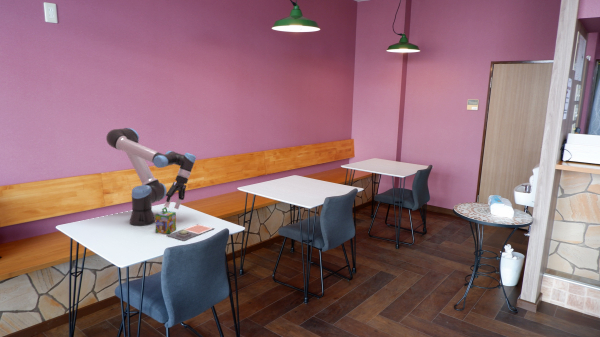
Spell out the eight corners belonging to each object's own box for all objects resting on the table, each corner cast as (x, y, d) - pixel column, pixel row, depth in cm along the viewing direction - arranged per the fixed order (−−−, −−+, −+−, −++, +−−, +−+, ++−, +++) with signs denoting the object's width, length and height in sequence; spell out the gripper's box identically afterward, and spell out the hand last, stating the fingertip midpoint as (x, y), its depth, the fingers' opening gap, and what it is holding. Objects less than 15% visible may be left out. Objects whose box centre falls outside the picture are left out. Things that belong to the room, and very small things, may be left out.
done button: (178, 234, 231) (178, 231, 231) (183, 232, 235) (183, 229, 234) (183, 236, 229) (183, 232, 229) (188, 234, 233) (188, 230, 232)
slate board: (166, 236, 232) (166, 232, 232) (197, 224, 255) (197, 221, 254) (183, 241, 225) (183, 237, 225) (214, 229, 248) (214, 225, 247)
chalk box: (168, 234, 235) (168, 210, 233) (155, 232, 237) (154, 209, 234) (176, 229, 244) (176, 206, 242) (163, 228, 246) (162, 205, 243)
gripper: (179, 175, 241) (166, 208, 238) (196, 181, 265) (185, 210, 262) (168, 171, 242) (156, 204, 240) (186, 177, 266) (175, 207, 264)
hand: (171, 207), depth 251 cm, fingers open, 13 cm apart
